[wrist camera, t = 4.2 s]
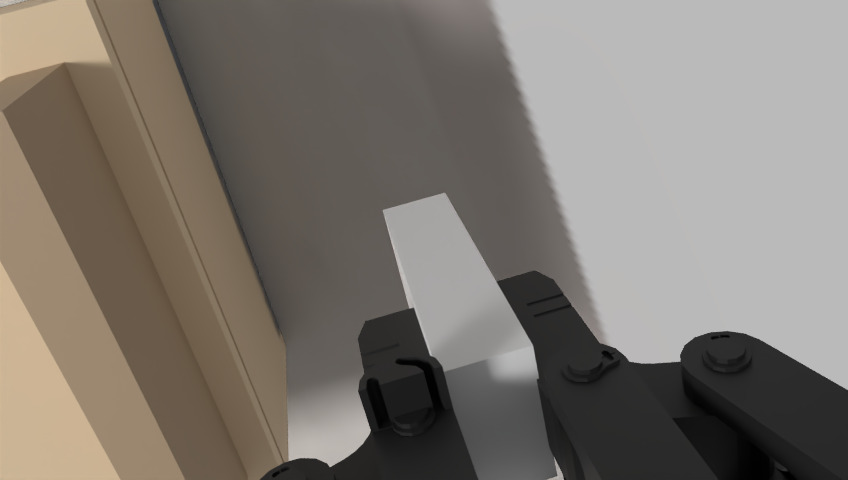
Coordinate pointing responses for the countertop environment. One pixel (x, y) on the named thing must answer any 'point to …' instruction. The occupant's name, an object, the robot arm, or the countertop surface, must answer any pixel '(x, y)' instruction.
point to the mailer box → (199, 196)
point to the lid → (103, 281)
